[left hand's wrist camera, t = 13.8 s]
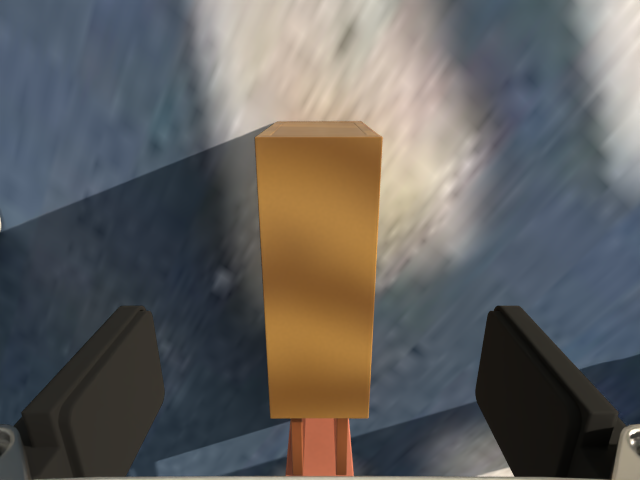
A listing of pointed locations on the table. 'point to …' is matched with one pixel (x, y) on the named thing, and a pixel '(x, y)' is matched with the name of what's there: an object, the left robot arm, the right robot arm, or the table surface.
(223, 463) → the table surface
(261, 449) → the table surface
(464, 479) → the left robot arm
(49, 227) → the table surface
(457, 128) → the table surface
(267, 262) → the box
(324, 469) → the drawer
